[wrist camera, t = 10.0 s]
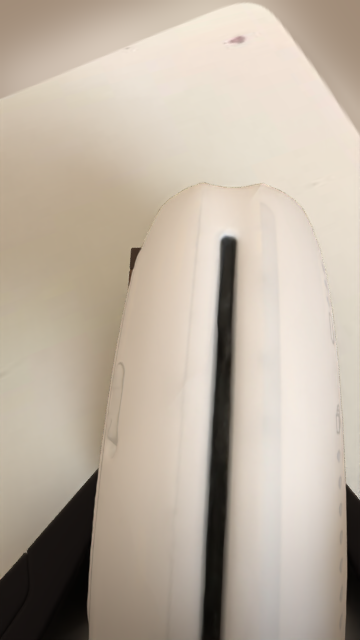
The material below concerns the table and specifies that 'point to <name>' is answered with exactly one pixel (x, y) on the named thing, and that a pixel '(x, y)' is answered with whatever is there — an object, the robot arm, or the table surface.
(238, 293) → the photo printer
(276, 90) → the table surface
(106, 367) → the table surface
